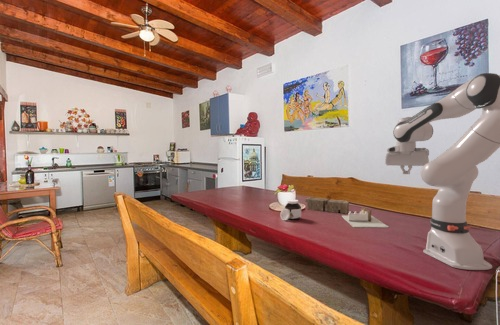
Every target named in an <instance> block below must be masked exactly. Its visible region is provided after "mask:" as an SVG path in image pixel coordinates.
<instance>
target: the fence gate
mask: <svg viewBox="0 0 500 325" xmlns="http://www.w3.org/2000/svg"><path fill="white" fill-rule="evenodd" d="M357 212H358V211H354V213H353V212H352V211H350V210H349V213H348V214H347V216H348V220H351V221H368V212H365V214H363V213H362V210H361V211H359V213H357Z"/></svg>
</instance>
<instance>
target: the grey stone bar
mask: <svg viewBox="0 0 500 325" xmlns="http://www.w3.org/2000/svg"><path fill="white" fill-rule="evenodd" d="M305 203H307V204H306V210H311V211H317V212H318V211H320V212H328V213H334V214H335V213H336V214H338V213H340V214H343V215H348V213H349V211H350V210H349V209H350V202H349V201H348V200H341V199H329V198H322V197H321V198H320V197H311V196H308V197H307V198H305Z"/></svg>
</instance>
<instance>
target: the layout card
mask: <svg viewBox="0 0 500 325" xmlns="http://www.w3.org/2000/svg"><path fill="white" fill-rule="evenodd" d="M341 217H342V218H343V220H344V221H346V222H347V223H348V224H349V225H350V226H351V227H353V228H362V229H363V228H366V229H367V228H368V229H369V228H372V229H373V228H375V229H376V228H381V229H382V228H383V229H384V228H390V227H389V225H387V224H385V223H383V222H382V221H380V219H378V218H377V217H374V216H373V215H371V222H370V221H351V220H348V215H341Z"/></svg>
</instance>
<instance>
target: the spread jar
mask: <svg viewBox="0 0 500 325" xmlns="http://www.w3.org/2000/svg"><path fill="white" fill-rule="evenodd" d="M279 216H280V219H281V220H282V221H288V220H289V221H297V220H299V219H300V218H301V217H302V206H301V205H300V203H299V200H298V199H287V203H286V204H285V207H284V208H283V209H282V210H281V211H280V215H279Z"/></svg>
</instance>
